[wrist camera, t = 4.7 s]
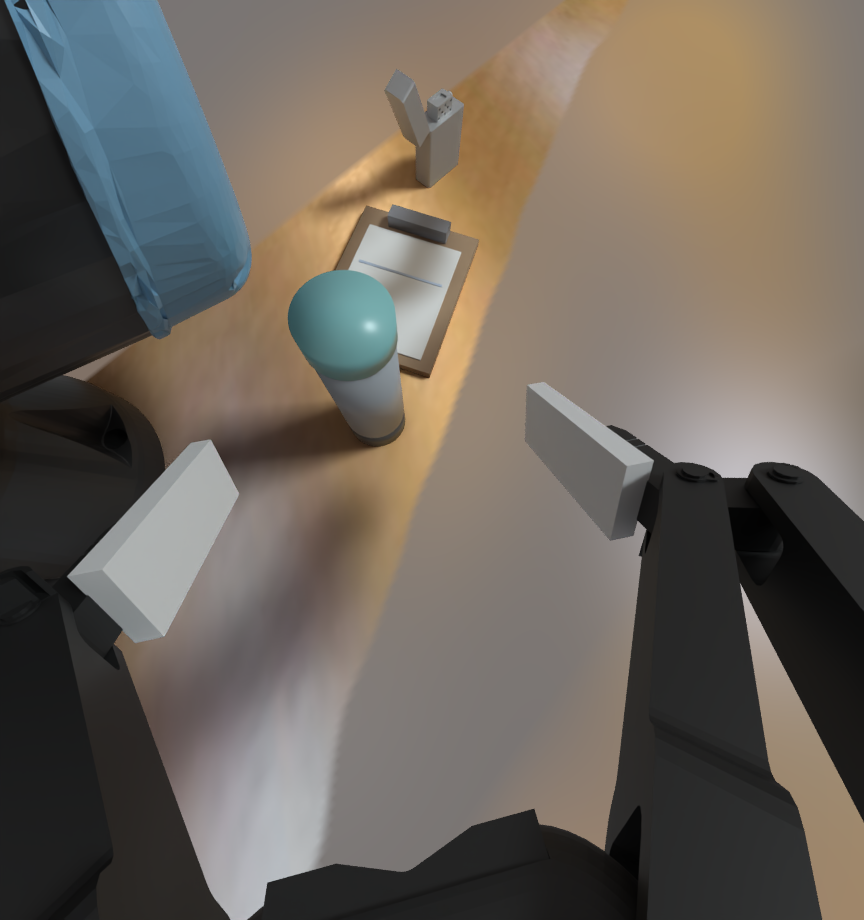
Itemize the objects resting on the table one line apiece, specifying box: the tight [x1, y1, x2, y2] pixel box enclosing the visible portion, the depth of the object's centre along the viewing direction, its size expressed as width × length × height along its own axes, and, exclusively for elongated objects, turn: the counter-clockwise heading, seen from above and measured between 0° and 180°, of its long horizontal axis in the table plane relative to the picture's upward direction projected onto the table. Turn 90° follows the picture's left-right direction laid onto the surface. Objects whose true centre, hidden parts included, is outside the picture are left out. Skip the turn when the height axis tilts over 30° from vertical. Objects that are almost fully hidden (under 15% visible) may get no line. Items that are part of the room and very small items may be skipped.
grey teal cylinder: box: [288, 270, 405, 446], centre depth 19 cm, size 4×4×12 cm
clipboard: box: [336, 205, 479, 378], centre depth 27 cm, size 10×13×2 cm
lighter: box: [384, 69, 464, 188], centre depth 27 cm, size 7×2×8 cm, turn 139°
